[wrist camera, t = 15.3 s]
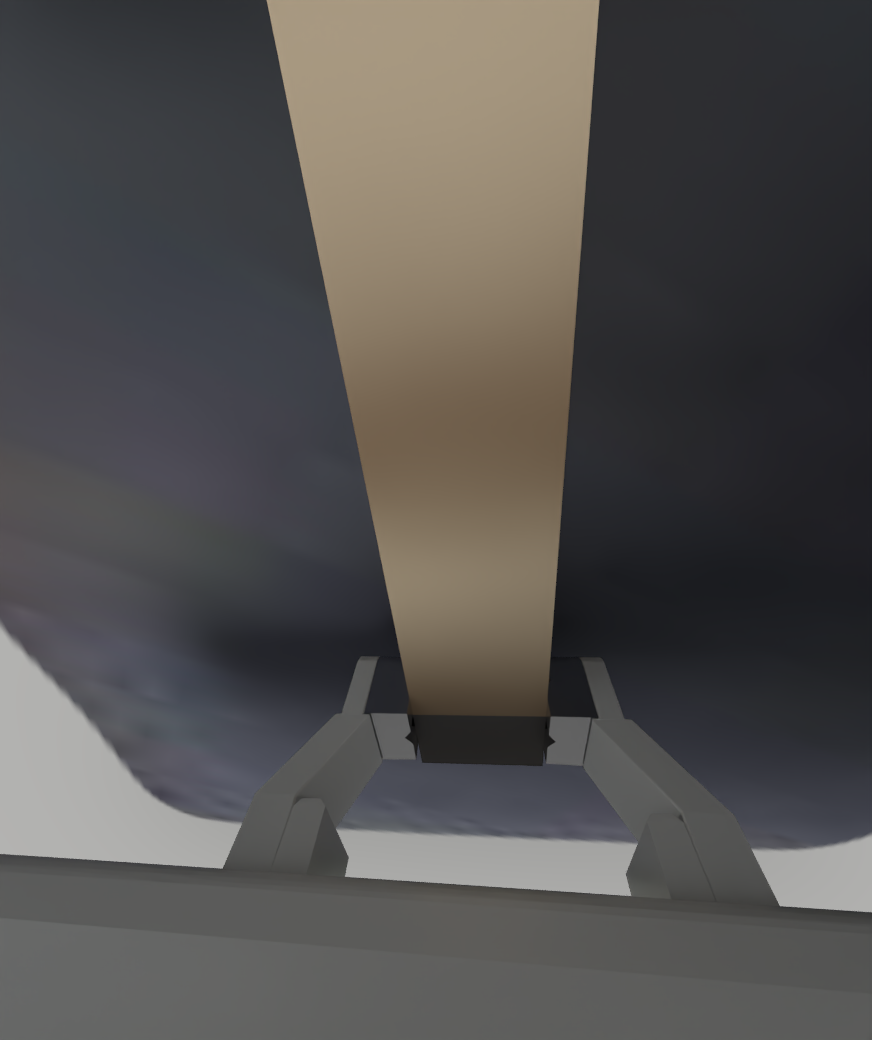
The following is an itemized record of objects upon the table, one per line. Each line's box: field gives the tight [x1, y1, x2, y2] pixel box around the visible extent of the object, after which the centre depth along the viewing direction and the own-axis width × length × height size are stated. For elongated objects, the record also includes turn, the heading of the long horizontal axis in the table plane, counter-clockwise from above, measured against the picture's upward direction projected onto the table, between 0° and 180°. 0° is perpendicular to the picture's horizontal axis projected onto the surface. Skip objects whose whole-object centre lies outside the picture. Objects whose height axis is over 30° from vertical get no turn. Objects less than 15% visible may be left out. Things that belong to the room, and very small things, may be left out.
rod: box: [267, 0, 599, 766], centre depth 7 cm, size 16×3×3 cm, turn 6°
